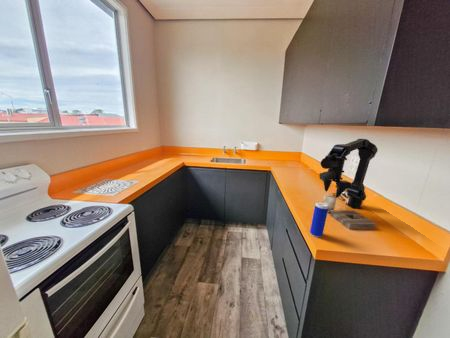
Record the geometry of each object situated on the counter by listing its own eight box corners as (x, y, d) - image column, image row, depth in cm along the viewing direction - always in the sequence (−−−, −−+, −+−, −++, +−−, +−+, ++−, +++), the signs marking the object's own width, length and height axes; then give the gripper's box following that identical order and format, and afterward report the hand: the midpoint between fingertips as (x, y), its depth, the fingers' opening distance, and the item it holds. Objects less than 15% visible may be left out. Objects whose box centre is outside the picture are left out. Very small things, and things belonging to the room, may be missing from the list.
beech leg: (319, 209, 109) (322, 194, 107) (328, 209, 110) (331, 194, 107) (325, 214, 103) (329, 198, 101) (335, 214, 104) (339, 198, 101)
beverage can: (318, 231, 85) (324, 202, 82) (324, 238, 80) (331, 207, 77) (307, 231, 85) (313, 201, 81) (313, 237, 80) (319, 206, 76)
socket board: (330, 215, 102) (331, 210, 102) (352, 215, 104) (353, 210, 103) (349, 229, 89) (350, 223, 88) (374, 229, 90) (376, 223, 90)
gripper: (313, 163, 108) (309, 188, 112) (335, 171, 90) (328, 200, 94) (330, 164, 109) (325, 188, 113) (355, 172, 91) (348, 201, 95)
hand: (331, 194), depth 104 cm, fingers open, 9 cm apart
